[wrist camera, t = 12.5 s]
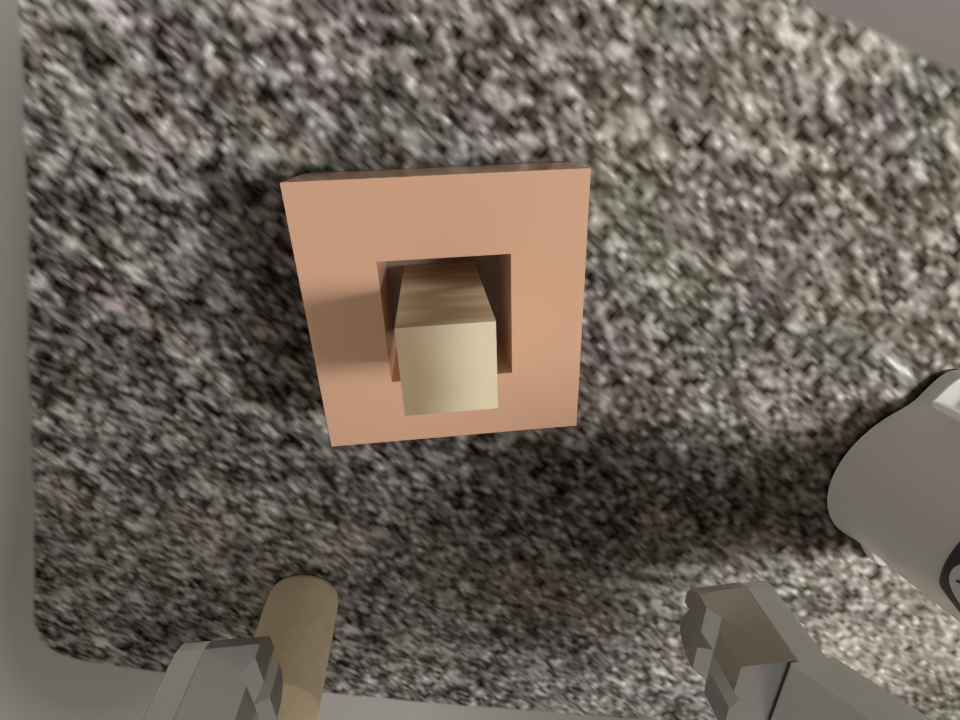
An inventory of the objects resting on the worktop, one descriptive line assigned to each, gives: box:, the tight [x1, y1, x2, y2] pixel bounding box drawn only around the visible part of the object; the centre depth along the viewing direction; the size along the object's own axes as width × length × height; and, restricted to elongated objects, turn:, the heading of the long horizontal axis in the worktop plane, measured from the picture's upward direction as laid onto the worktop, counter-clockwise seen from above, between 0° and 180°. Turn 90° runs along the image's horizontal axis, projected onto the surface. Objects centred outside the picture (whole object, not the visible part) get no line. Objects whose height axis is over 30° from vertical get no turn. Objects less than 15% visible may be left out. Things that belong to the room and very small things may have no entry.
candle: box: [254, 575, 338, 720], centre depth 35 cm, size 6×6×10 cm
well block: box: [280, 161, 591, 446], centre depth 28 cm, size 14×14×6 cm
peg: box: [394, 261, 498, 416], centre depth 25 cm, size 4×4×10 cm
